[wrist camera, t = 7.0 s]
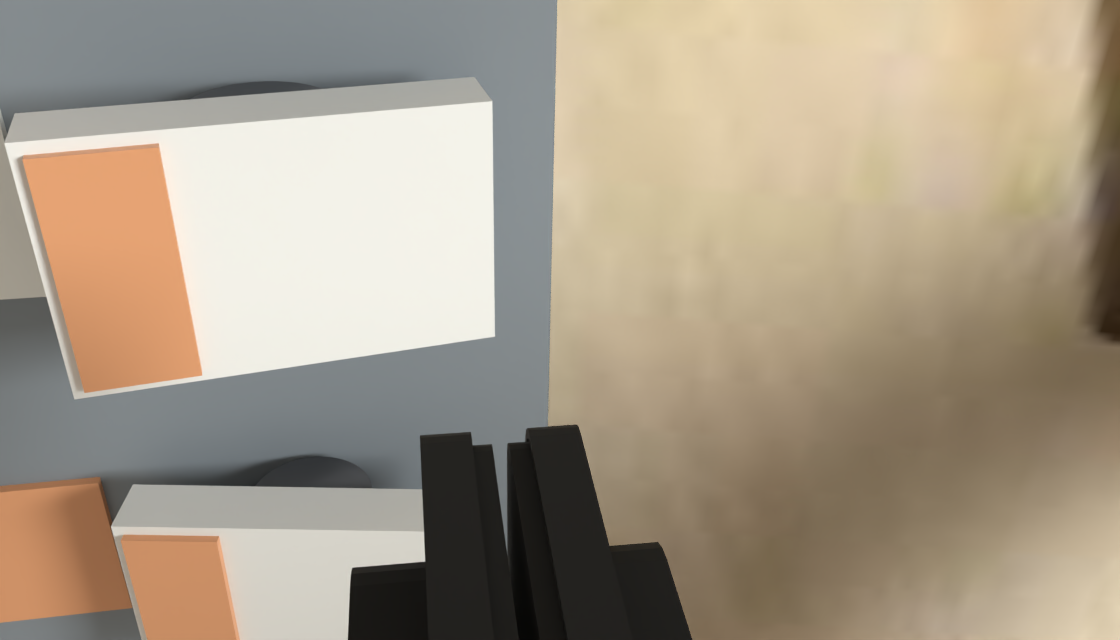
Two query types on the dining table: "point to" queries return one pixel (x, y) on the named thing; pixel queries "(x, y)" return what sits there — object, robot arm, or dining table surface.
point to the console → (276, 395)
